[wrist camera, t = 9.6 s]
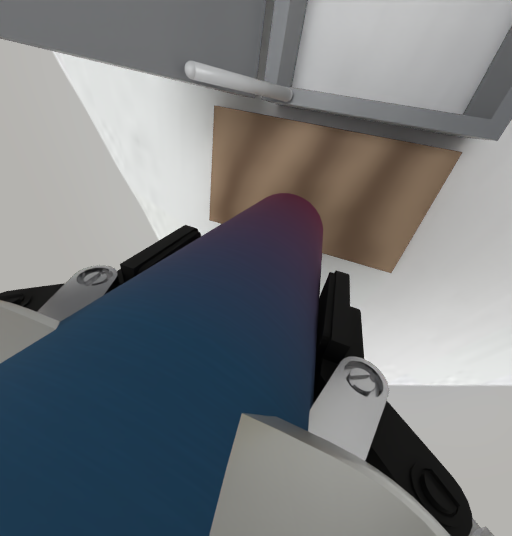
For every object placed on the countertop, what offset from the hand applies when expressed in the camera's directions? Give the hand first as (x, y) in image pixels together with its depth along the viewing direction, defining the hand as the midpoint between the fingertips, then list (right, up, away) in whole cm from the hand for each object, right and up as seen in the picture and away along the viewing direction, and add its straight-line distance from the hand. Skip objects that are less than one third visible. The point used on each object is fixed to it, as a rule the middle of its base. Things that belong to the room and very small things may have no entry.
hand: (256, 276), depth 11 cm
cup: (+2, +3, +5) cm, 6 cm away
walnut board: (+6, +9, +14) cm, 17 cm away
